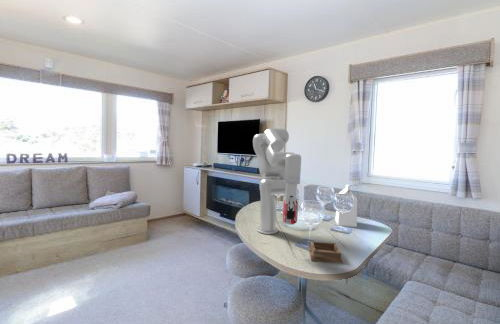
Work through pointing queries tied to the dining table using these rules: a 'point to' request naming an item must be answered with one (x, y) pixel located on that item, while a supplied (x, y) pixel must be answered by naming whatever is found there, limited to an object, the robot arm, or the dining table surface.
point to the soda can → (285, 208)
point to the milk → (348, 217)
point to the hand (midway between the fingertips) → (290, 215)
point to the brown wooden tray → (325, 252)
